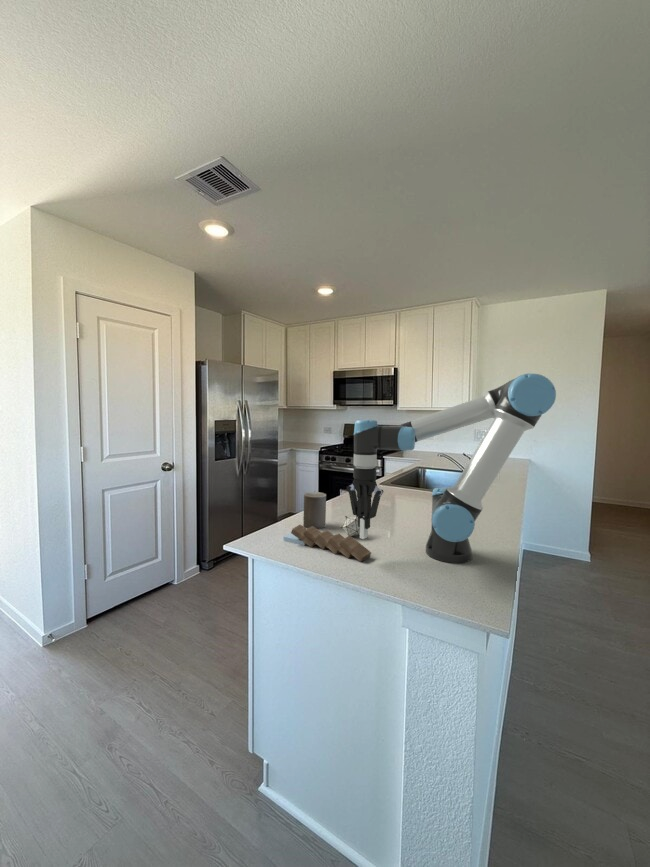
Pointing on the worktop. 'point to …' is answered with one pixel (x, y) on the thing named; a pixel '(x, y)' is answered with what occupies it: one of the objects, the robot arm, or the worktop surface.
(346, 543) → the domino
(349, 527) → the game die
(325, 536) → the domino
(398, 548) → the worktop surface
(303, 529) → the domino
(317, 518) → the pillar candle
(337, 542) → the domino
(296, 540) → the domino
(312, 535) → the domino
